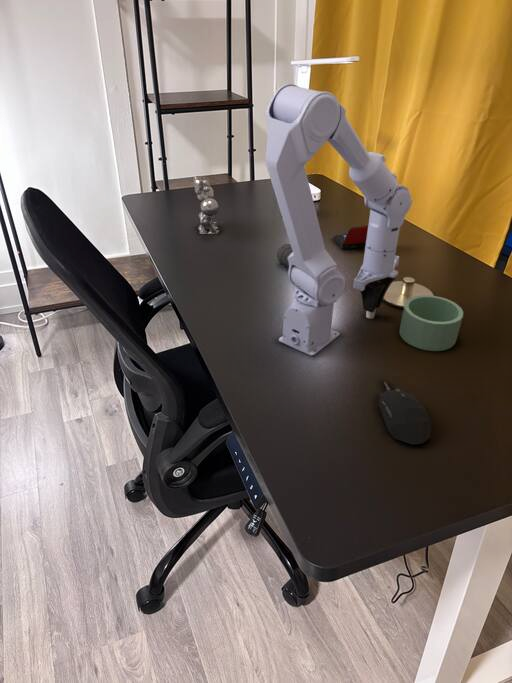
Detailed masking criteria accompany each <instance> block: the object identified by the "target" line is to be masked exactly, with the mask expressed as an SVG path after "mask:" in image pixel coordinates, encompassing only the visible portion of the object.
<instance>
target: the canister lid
mask: <svg viewBox="0 0 512 683" xmlns="http://www.w3.org/2000/svg"><path fill="white" fill-rule="evenodd" d="M415 281H416V280H415V278H413V277H410V276H405V277H403V279H402V280H397V281H396V280H394V281H393V282H392V283H391V285H390V286H389V288H388V289H387V291H386V293H385V296H384V298H383V300H382V301H384V302H385V303H386V304H389V305H391V306H395V307H397V308H401V309H404V305H405V302H406V301H407V300H408V299H410V298H412V297H415V296H420V295H432V296H435V295H434V293H433V291H431V290H430V289H429V288H427V286H424V285H422V284H419V283H416V282H415Z"/></svg>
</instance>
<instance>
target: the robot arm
mask: <svg viewBox="0 0 512 683" xmlns="http://www.w3.org/2000/svg"><path fill="white" fill-rule="evenodd" d="M346 112H347V110H346V108H345V107H344V106H343V105H342V104H341V103H340V102H339V100H338V98H337V97H336V96H335V94H333V93H331V92H330V91H322V90H321V91H319V90H315V89H311V88H305V87H300V86H299V85H296V84H293V83H285V84H283V85H281V86H280V87H279V88H278V89H277V90H276V91H275V92H274V94H273V95H272V97H271V98H270V101H269V103H268V105H267V107H266V109H265V111H264V114H265V115H264V116H265V118H266V121H267V126H268V128H267V138H266V149H265V165H266V168H267V169H266V170H267V171H268V172H267V173H268V174H269V175H268V176H269V179H270V181H271V185H272V188H273V192H274V195H275V198H276V201H277V204H278V208H279V211H280V215H281V217H282V221H283V224H284V228H285V230H286V235H287V236H288V240H289V244H291V247H292V251H293V252H292V253H291V254H290V255H289V257H288V262H289V268H288V271H287V276H288V277H287V278H288V280H289V282H290V283H291V285H293V292H294V299H293V301H292V303H291V305H290V306H289V307H288V308H287V309H286V310H285V311H284V314H283V318H282V321H283V322H282V336H280V337H279V338H278V342H279V343H282V344H284V345H287V346H288V347H291V348H293V349H295V350H297V351H299V352H302V353H304V354H306V355H308V356H311V357H313V356H315V355H316V354H318V353H319V352H320V351H321V350H323V349H324V348H325V347H326V346H328V345H329V344H331V342H333V341H334V340H335V339H337V338H338V337H339V336H340V332H339V331H337V330H334V329H332V324H333V314H334V307H335V306H334V304H335V303H337V301H338V300H339V299H340V298H341V297H342V295H343V293H344V291H345V288H346V278H345V276H344V275H343V274H342V273H341V272H340V271H339V270H338V266H337V263H336V261H335V260H334V259H333V257H331V255H330V253H329V252H328V251H327V250H326V247H325V243H324V239H323V234H322V231H321V227H320V222H319V220H318V218H319V217H318V215H317V210H316V207H315V203H314V199H313V195H312V194H313V193H312V191H311V187H310V183H309V179H308V174H307V171H306V164H307V162H309V161H311V160H312V158H313V157H314V156H315V155H316V154H317V153H318V152H319V150H320V149H321V148H322V147H323V146H324V145H325V143H326V142H327V143H328V144H330V146H331V147H332V148H333V149H334V150H335V151H336V152H337V153H338V154H339V155H340V157H341V158H342V159H343V160H344V161H345V162H346V163H347V164H348V166H349V170H348V176H349V178H350V180H351V181H352V182H353V184H354V185H355V186H356V187H357V188H358V190H359V191H360V192H361V194H362V195H363V196H364V197H363V201H364V205H365V207H367V208H368V209H370V210H369V218H368V224H367V226H368V232H367V239H366V246H364V253H363V254H364V255H363V261H362V262H363V263H362V264H361V266H360V269H359V271H358V273H357V276H356V277H355V278H354V279H353V284H352V288H353V289H354V290H358V291H360V295H361V300H362V308H363V310H364V311H366V312H367V311H369V312H374V310H375V308H376V309H379V308H380V306H381V305H382V302H383V301H384V300H383V298H384V296H385V293H386V291H387V289H388V288H389V286H390V285H391V283H392V282H395V281H396V277H397V276H398V275H399V271H398V270H395V268H396V267H398V266H399V262H400V256H399V255H396V253H397V248H398V242H399V237H400V230H401V227H402V226H403V224H404V223H405V218H406V216H407V214H408V212H409V211H410V209H411V207H412V205H413V199H412V194H411V193H410V190H409V189H408V187H407V186H405V185H403V184H400V183H399V181H398V180H397V179H398V176H397V175H396V173H393V172H392V171H391V170H390V168H389V167H388V165H386V160H387V158H386V157H385V155H384V154H382V153H377V152H374V151H368V150H367V149H366V147H365V145H364V143H363V142H362V140H361V139H360V137H359V136H358V134H357V133H356V131H355V129H354V128H353V125H352V123H350V121H349V119H348V118H347V116H346V114H347V113H346ZM379 282H380V283H379ZM375 311H376V310H375Z"/></svg>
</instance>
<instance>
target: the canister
mask: <svg viewBox="0 0 512 683" xmlns="http://www.w3.org/2000/svg"><path fill="white" fill-rule="evenodd" d="M401 316H402V317H401V321H400V325H399V335H400V337H401V339H402V340H403V341H404V342H405V343H407V344H408V345H410V346H412V347H414V348H417V349H420V350H424V351H429V352H441V351H446V350H449V349H451V348H452V347H453V346H455V345H456V343H457V340H458V336H459V332H460V329H461V325H462V322H463V319H464V310H463V308H462V307H461V306H460V305H458V304H457V303H456V302H454V301H453V300H450V299H449V298H445V297H441V296H438V295H434V296H432V295H420V296H415V297H412V298H410V299H408V300H407V301H406V302H405V305H404V308H403V311H402V315H401Z"/></svg>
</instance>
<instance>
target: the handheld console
mask: <svg viewBox="0 0 512 683" xmlns="http://www.w3.org/2000/svg"><path fill="white" fill-rule="evenodd" d="M367 232H368V225H363V226H361V225H360V226H354V227H350V228H349V229H348V231H347V233H342V234H337V235H333V238H332V239H333V241H334V242H335V243H336V244H337V245H338V246H339V247H340V248H341V250H351V249H356V248H357V249H359V248H365V246H366V239H367Z"/></svg>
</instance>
